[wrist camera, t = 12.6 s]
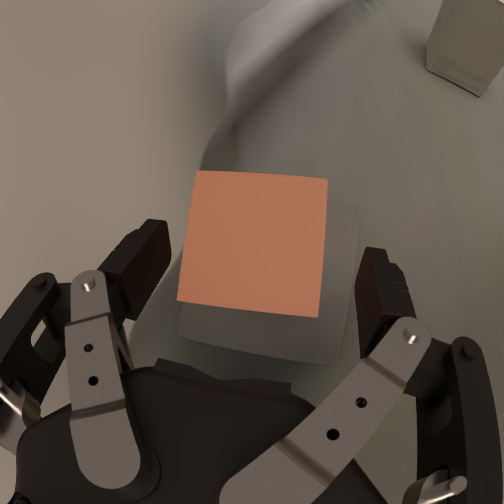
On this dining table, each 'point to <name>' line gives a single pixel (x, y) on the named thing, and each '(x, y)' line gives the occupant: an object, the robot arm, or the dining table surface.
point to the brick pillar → (255, 242)
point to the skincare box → (467, 43)
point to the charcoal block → (290, 326)
